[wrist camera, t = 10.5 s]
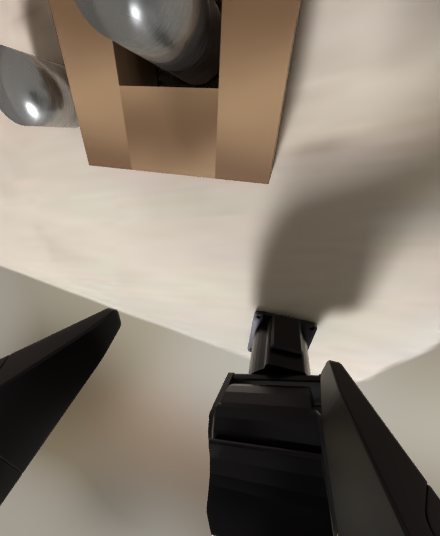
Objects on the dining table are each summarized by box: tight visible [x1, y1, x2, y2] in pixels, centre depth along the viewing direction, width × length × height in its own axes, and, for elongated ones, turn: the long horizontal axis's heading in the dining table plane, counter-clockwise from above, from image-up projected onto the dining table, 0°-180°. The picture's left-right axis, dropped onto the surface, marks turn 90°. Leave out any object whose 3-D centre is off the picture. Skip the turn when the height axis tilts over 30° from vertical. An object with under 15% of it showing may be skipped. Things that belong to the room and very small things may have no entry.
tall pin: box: [74, 0, 222, 85], centre depth 10 cm, size 4×4×8 cm
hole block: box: [49, 0, 301, 184], centre depth 11 cm, size 14×12×4 cm
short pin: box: [0, 45, 80, 128], centre depth 15 cm, size 4×4×4 cm
